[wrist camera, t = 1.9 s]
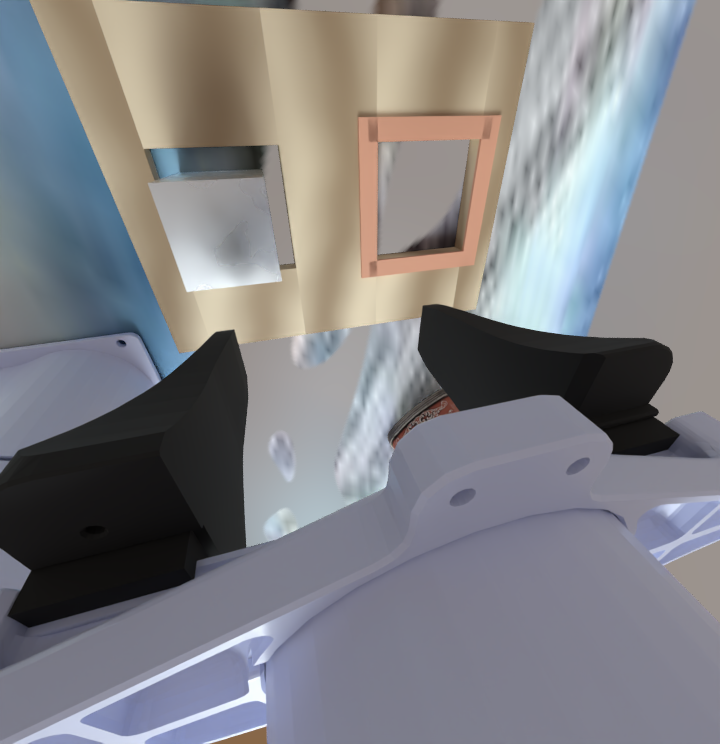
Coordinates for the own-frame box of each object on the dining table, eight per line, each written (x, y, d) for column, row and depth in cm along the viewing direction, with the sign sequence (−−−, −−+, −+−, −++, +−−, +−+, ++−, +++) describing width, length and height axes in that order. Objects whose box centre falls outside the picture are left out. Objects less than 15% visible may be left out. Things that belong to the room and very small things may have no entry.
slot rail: (182, 345, 21) (178, 354, 20) (42, 4, 12) (24, -8, 11) (468, 304, 25) (477, 310, 24) (520, 29, 16) (537, 21, 15)
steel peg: (204, 254, 18) (186, 291, 13) (179, 172, 16) (147, 183, 11) (275, 248, 19) (281, 281, 14) (261, 168, 17) (263, 177, 12)
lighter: (443, 382, 29) (513, 469, 21) (460, 398, 31) (530, 483, 23) (380, 435, 31) (422, 533, 23) (400, 448, 33) (445, 542, 25)
